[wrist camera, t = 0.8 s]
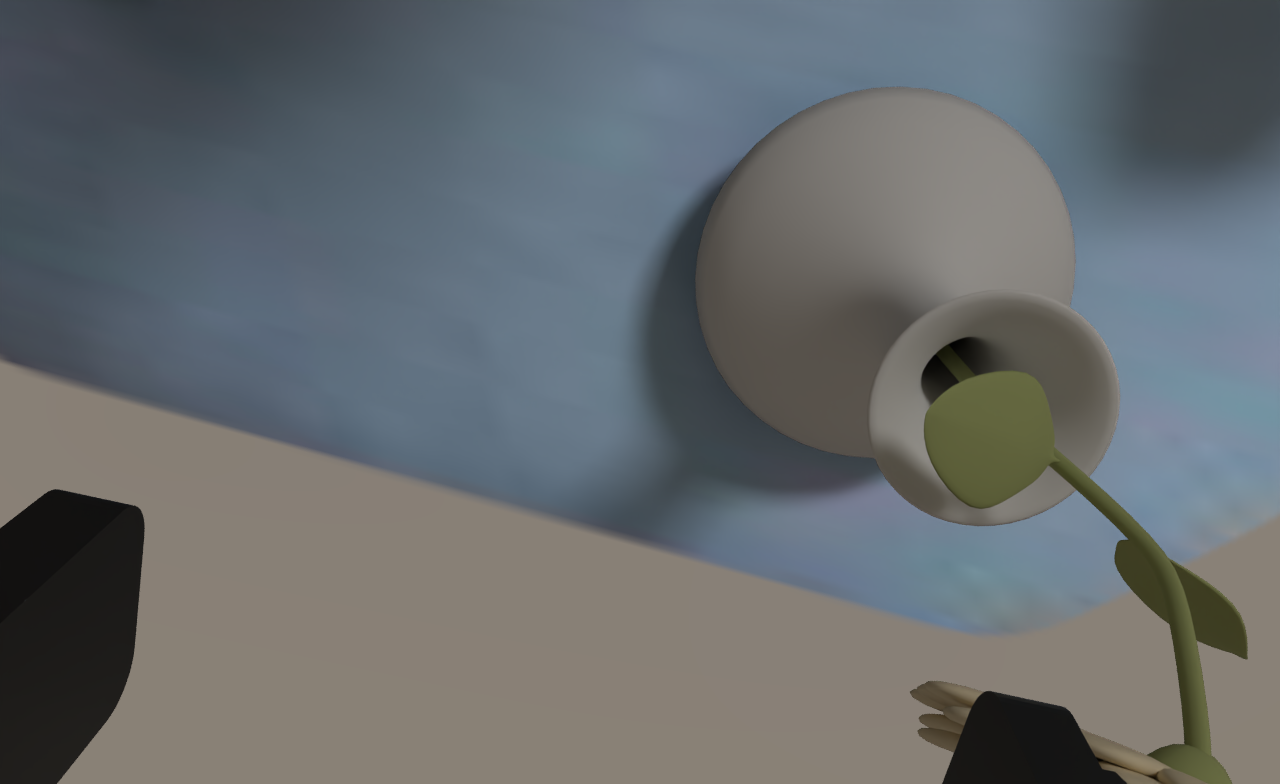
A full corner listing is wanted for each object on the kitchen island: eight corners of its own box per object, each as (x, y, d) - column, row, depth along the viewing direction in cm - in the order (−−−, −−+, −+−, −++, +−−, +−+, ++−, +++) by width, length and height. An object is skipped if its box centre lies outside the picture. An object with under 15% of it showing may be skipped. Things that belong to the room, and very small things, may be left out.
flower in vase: (622, 232, 36) (527, 648, 12) (931, 3, 33) (1590, -51, 9) (851, 538, 39) (1142, 1359, 15) (1149, 348, 36) (2061, 962, 13)
